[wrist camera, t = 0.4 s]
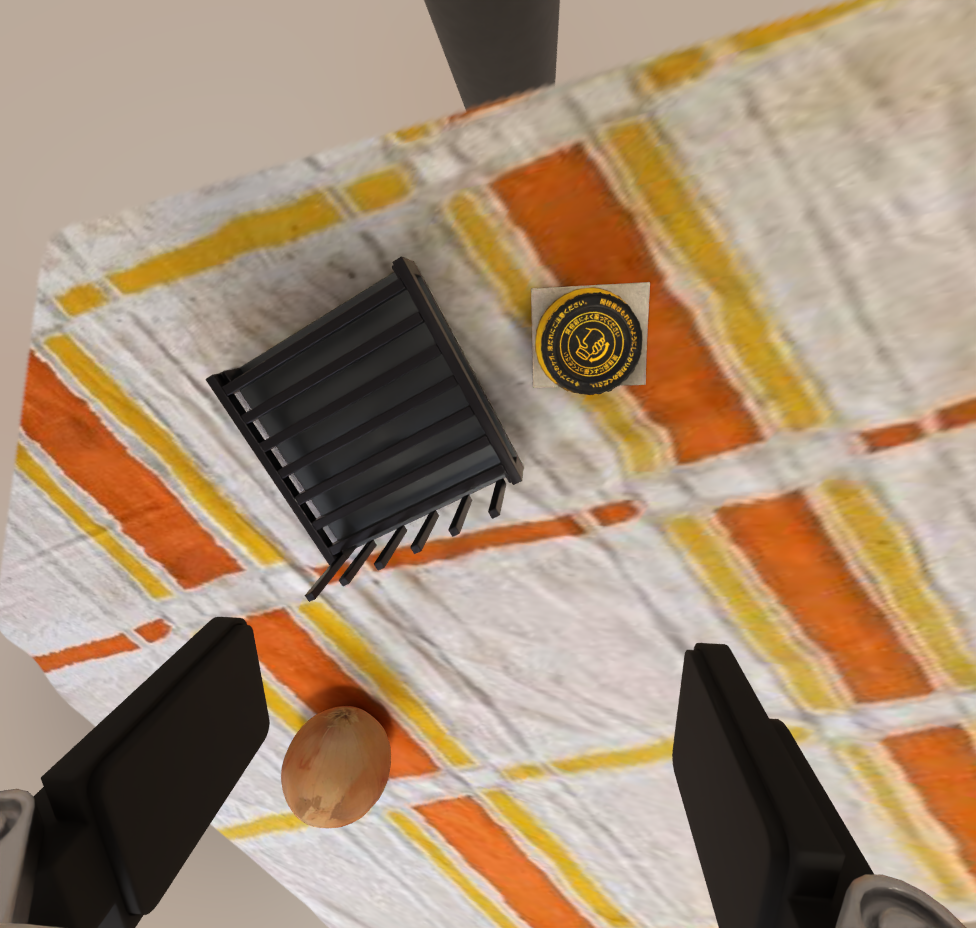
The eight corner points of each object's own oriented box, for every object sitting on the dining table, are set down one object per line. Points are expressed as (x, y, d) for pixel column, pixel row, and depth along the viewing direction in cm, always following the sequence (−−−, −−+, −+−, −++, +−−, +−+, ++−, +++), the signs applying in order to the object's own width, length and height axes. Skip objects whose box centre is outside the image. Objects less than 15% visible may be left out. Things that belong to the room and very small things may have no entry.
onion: (321, 759, 52) (273, 858, 43) (302, 683, 49) (245, 771, 40) (409, 760, 51) (379, 863, 42) (394, 682, 48) (358, 773, 39)
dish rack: (231, 373, 40) (143, 391, 31) (414, 261, 36) (372, 244, 27) (347, 551, 44) (298, 611, 35) (524, 467, 40) (518, 512, 31)
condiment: (531, 288, 36) (526, 278, 25) (649, 282, 35) (701, 268, 24) (532, 387, 38) (529, 420, 27) (644, 384, 37) (689, 416, 26)
